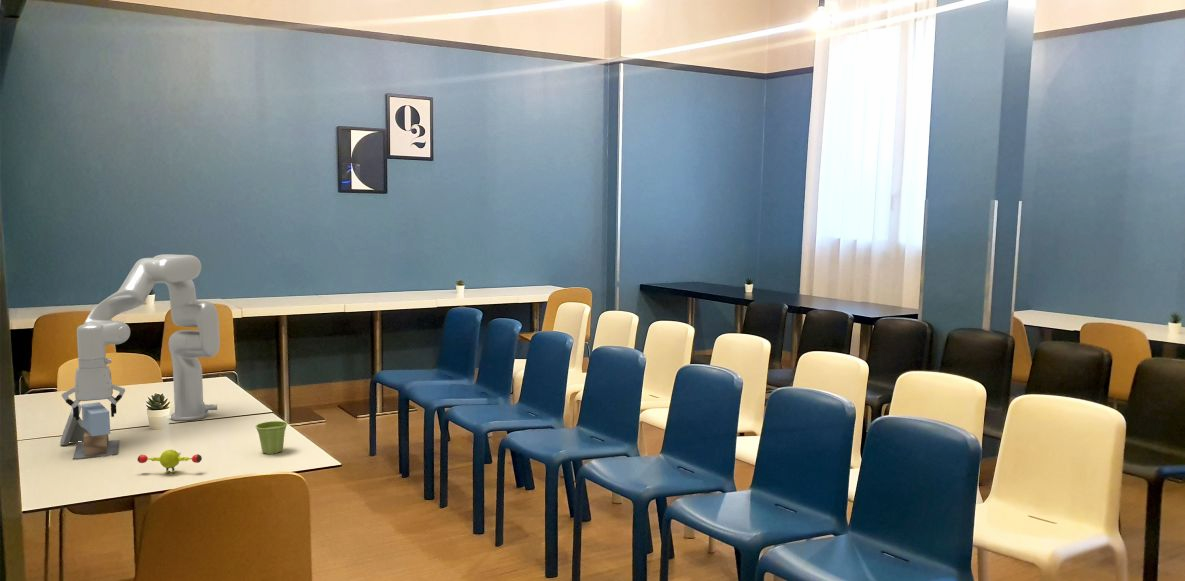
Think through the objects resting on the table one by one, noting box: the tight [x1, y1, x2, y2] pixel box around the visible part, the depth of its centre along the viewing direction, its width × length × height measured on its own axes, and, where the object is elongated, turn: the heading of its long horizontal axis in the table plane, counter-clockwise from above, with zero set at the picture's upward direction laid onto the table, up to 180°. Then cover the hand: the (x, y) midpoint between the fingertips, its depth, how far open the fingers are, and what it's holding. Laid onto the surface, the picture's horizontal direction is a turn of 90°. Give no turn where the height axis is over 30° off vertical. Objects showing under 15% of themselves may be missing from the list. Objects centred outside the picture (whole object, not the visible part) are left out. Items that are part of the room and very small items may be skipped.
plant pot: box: [255, 420, 288, 455], centre depth 277 cm, size 9×9×9 cm
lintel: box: [81, 402, 111, 436], centre depth 277 cm, size 5×16×7 cm, turn 39°
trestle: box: [72, 429, 120, 460], centre depth 278 cm, size 12×18×6 cm, turn 27°
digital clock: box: [59, 403, 86, 446], centre depth 289 cm, size 16×9×11 cm, turn 16°
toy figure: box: [137, 449, 203, 474], centre depth 255 cm, size 18×6×7 cm, turn 92°
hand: (95, 417), depth 277 cm, fingers open, 9 cm apart
